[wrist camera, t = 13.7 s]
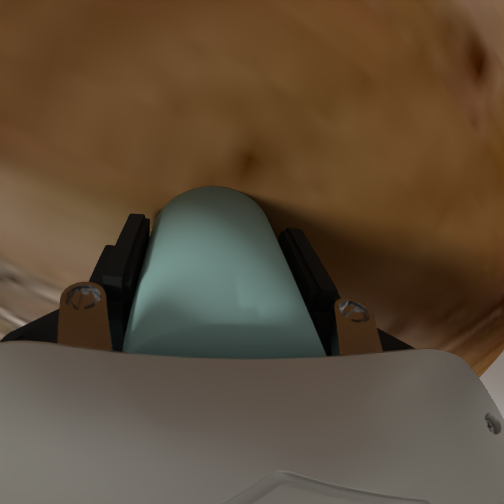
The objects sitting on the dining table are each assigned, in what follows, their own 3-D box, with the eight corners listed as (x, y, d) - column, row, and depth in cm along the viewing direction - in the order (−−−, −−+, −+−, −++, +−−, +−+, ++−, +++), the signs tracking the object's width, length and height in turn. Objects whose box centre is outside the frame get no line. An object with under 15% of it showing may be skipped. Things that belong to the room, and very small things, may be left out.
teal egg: (283, 194, 12) (363, 321, 6) (259, 295, 14) (295, 431, 8) (153, 180, 11) (100, 312, 5) (150, 288, 13) (132, 432, 7)
